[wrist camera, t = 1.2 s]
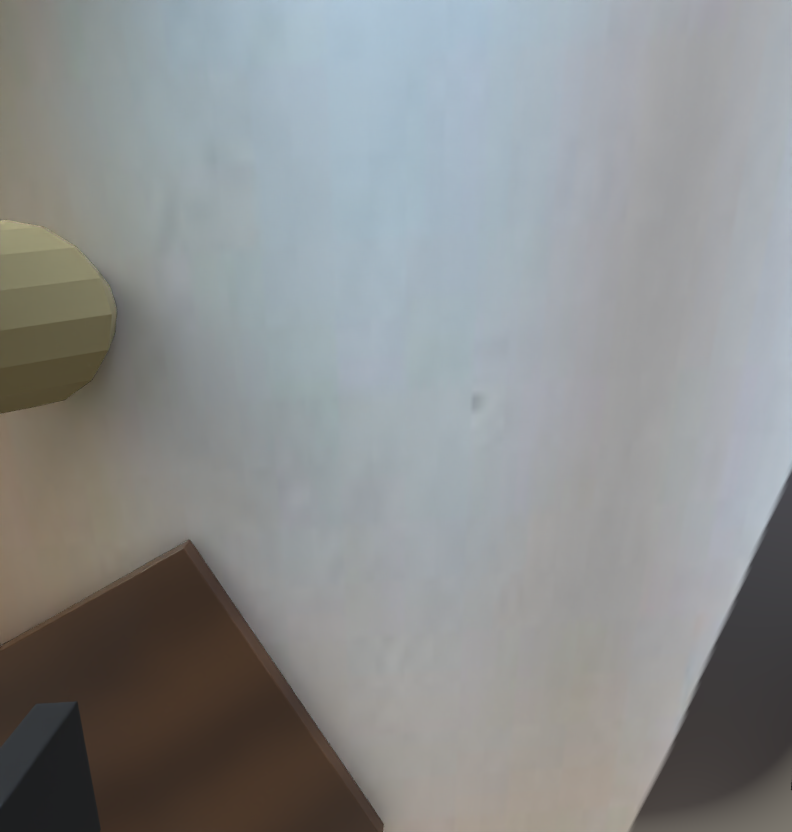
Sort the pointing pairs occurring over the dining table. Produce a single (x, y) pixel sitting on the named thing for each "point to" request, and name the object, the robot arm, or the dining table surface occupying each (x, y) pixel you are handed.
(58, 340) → the squeeze bottle
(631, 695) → the dining table surface
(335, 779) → the serving board
